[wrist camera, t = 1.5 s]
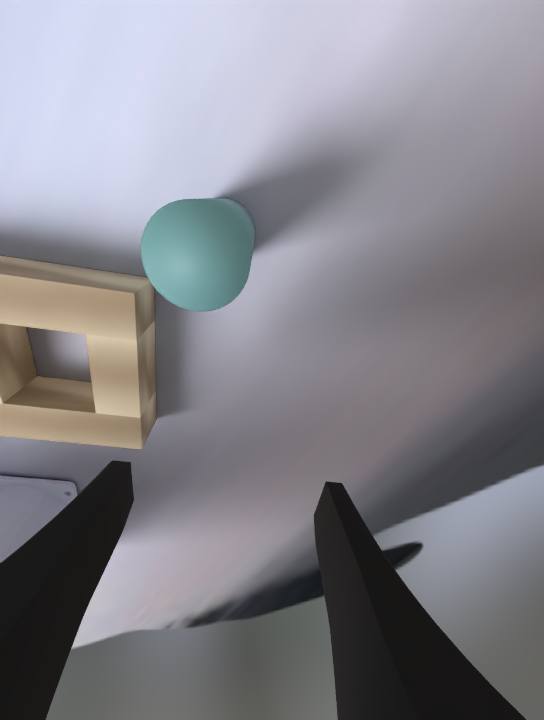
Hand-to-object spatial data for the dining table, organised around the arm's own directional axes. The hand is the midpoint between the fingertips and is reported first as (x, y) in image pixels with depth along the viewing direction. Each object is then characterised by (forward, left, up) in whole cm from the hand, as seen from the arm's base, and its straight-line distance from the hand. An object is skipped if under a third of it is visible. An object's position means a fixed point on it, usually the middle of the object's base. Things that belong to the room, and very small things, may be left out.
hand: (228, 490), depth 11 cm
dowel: (+8, +2, -10) cm, 13 cm away
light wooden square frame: (0, +11, -10) cm, 14 cm away
